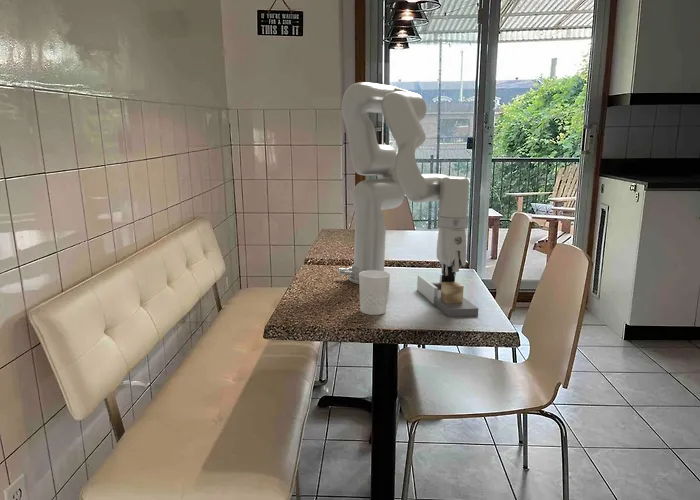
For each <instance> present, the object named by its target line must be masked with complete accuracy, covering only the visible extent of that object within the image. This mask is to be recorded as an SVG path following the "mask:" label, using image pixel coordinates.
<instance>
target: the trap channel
mask: <svg viewBox="0 0 700 500" xmlns="http://www.w3.org/2000/svg"><path fill="white" fill-rule="evenodd" d="M441 281H442V274H439V282H431V281H429V280H428V279H427V278H425V277H424V275H421V274H420V275H419V274H418V275H417V282H416V291H418V292H419V293H420V294H421V295H423V296H424V297H425V298H426V299H427V300H428V301H429V302H431V304H433V305H434V306H435V307H436V308H437V309H438V310H439V311H441V312H442V313H443V314H445V316H446V317H448V318H456V317H457V318H459V317H478V316H479V307H477V306H476V305H474V304H473V303H471V302H470V301H469V300H468V299H466V298H464V297H463V302H462V303H445V302H444V301H443V300H442V299H441Z"/></svg>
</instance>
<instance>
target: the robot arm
mask: <svg viewBox="0 0 700 500" xmlns="http://www.w3.org/2000/svg"><path fill="white" fill-rule="evenodd" d="M368 113H372V114H373V113H375V114H382V115H383V117H384V120H385V121H386V125H387V127H388V129H389V131H390V133H391V136H392V138H393V140H394V142H395V145H396V149H397V150H396V149H395V148H394V147H392V146H391V145H389V144H382V143H381V144H379V143H378V139H377V136H376V135H377V133H376V128H375V125H374V124H373V121H372V119H370V117H369V116H368ZM341 114H342V119H343V122H344V125H345V128H346V131H347V139H348V146H349V152H350V157H351V159H350V160H351V163H352V167H353V170H354V172H355V173H356V174H357V175H360V176H376V177H377V178H374V179H373V178H371V179H364V180H362V181H359V182H358V183H357V184H356V185H355V186H354V187H353V191H352V203H353V210H354V247H353V248H354V249H353V250H354V254H353V264H351V266H349V267H348V268H346V267H339V268H338V274H339V275H343V276H348V281H350V282H351V283H353V284H357V285H359V273H360V272H362V271H367V270H378V271H384V272H385V258H386V256H385V255H386V253H385V252H386V234H387V233H386V230H387V227H386V220H385V217H384V215H383V212H382V211H384V210H390V209H396V208H398V207H399V206H401V205H402V204H403V202H404V200H405V199H404V198H405V196H406V198H407V199H408V200H409V201H411V202H414V203H425V202H426V203H427V202H438V216H437V226H436V227H437V228H438V234H437V240H436V259H437V260H438V262H439V263H440V266H441V275H442V281H441V286H442V282H456V275H457V273H459V271H460V267H465V265H466V261H467V236H466V234H467V233H466V229H467V216H468V204H469V202H468V201H469V190H470V181H469V179H468V178H467V177H465V176H457V175H456V176H455V175H447V174H443V173H421V171H420V169H419V166H418V163H417V161H416V150H417V149H418V148H420V146H422V145H423V144H424V142H425V141H426V138H427V137H426V133H425V131H424V129H423V127H422V124H421V121H422V120H423V119H424V118H425V116H426V114H427V103H426V101H425V98H423V97H422V96H421V95H420V94H419V93H416V92H413V91H409V90H407V89H403V88H399V87H397V86H393V85H389V84H381V83H375V82H369V81H368V82H366V81H364V82H363V81H360V82H355V83H352V84H351V85H349V86H348V88H346V89H345V92H344V94H343V97H342V99H341Z"/></svg>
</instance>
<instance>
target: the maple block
mask: <svg viewBox="0 0 700 500" xmlns="http://www.w3.org/2000/svg"><path fill="white" fill-rule="evenodd" d="M464 289H465V287H464V285H463V284H461V283H459V281H455V282H442V286H441V299H442V300H443V301H444V302H445V303H462V302H463V298H464Z"/></svg>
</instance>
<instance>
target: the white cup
mask: <svg viewBox="0 0 700 500" xmlns="http://www.w3.org/2000/svg"><path fill="white" fill-rule="evenodd" d="M390 278H391V273H389V272H387V271H385V270H384V271H378V270H367V271H362V272H360V273H359V284H358V286H359V288H358V289H359V292H358V293H359V301H360V302H359V304H360V305H359V307H360V310H359V311H360V313H362V314H365V315H367V316H381V315H384V314H386V312H387V305H388V299H389V292H390V291H389V290H390V281H391V280H390Z"/></svg>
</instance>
